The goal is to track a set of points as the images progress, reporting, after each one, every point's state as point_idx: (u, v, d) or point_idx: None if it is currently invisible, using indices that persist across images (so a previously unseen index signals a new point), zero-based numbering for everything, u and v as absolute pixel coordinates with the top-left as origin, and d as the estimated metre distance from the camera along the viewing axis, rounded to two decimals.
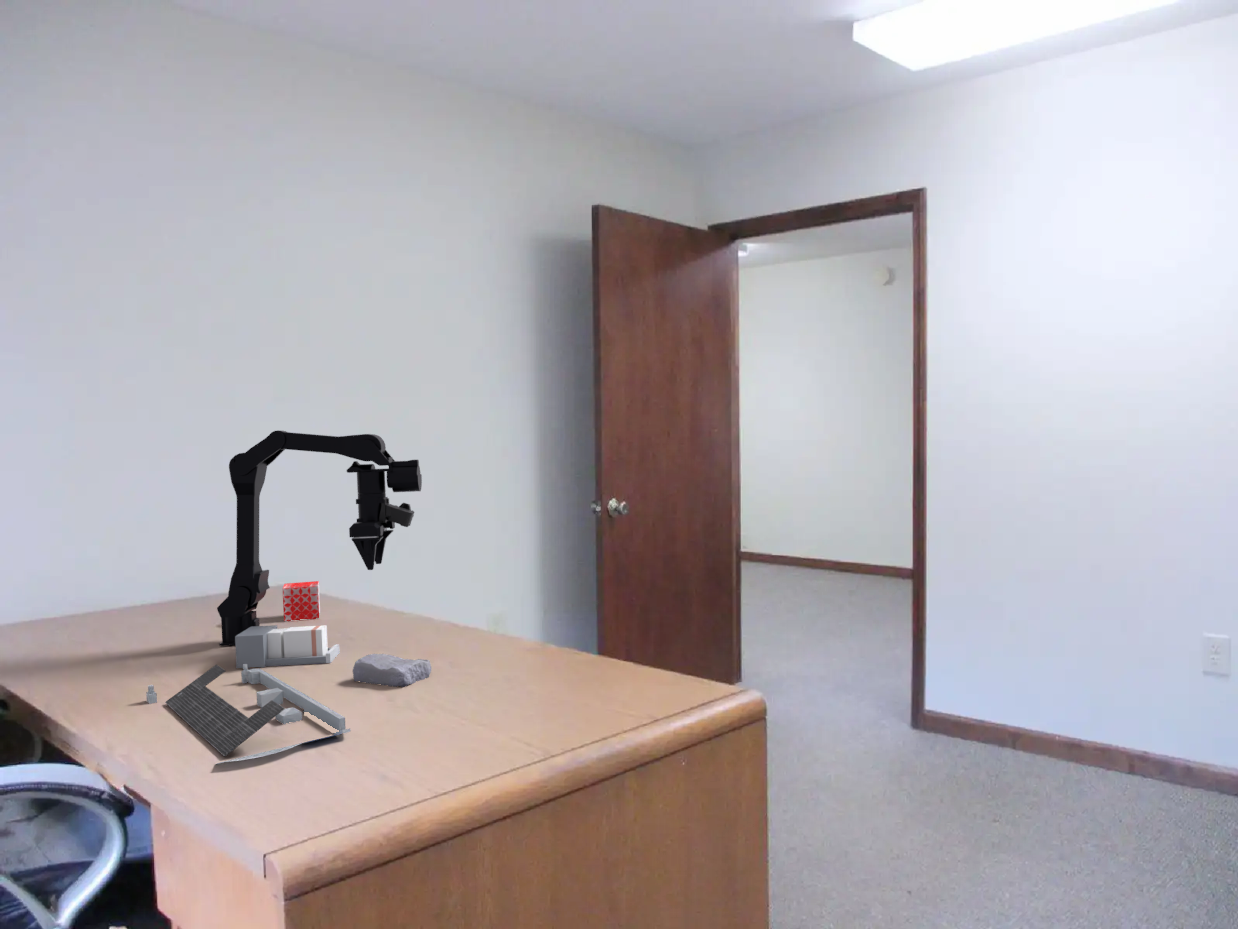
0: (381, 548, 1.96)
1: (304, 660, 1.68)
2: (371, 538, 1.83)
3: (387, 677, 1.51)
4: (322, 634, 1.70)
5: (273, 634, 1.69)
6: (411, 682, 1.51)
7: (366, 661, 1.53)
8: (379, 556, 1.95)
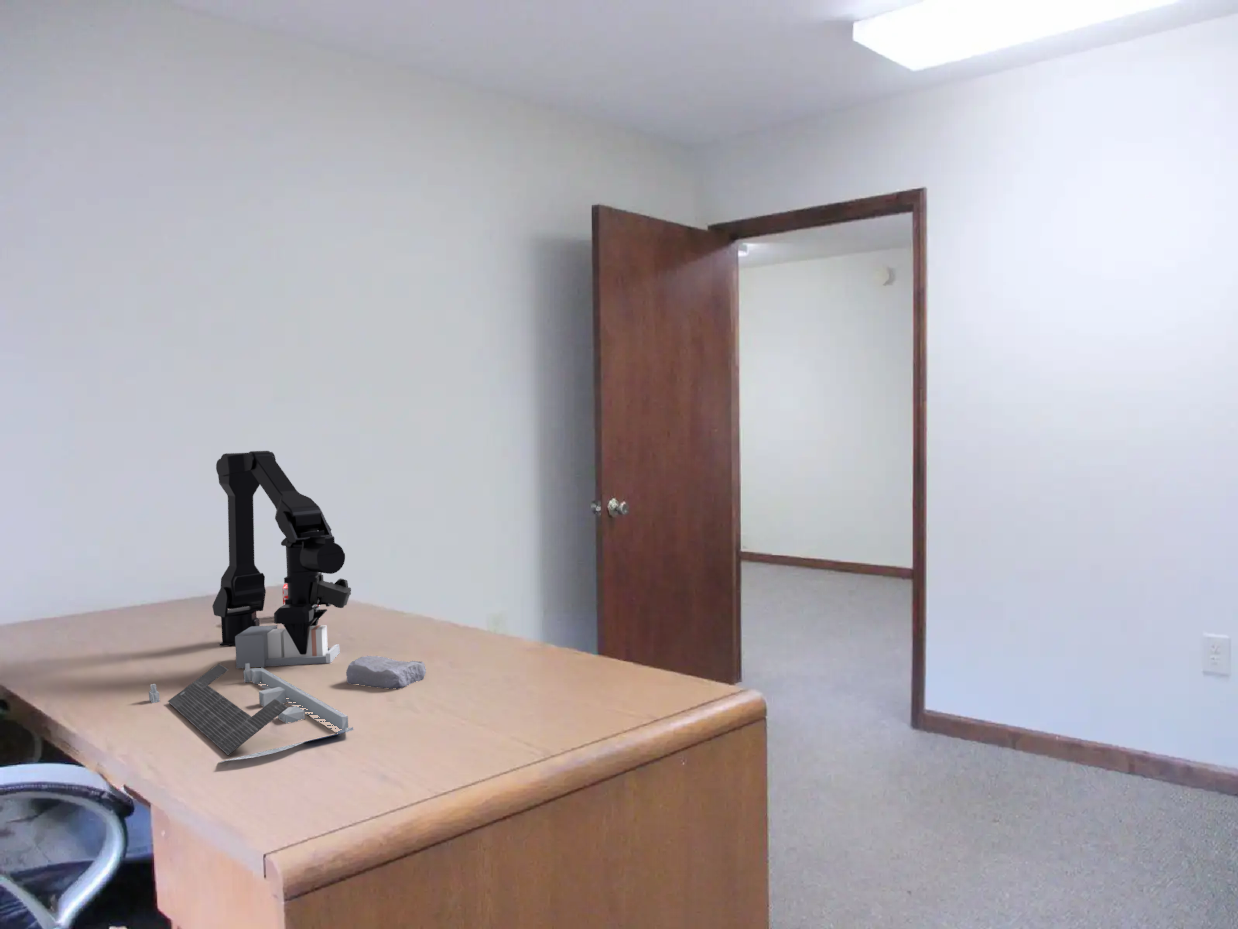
0: None
1: (304, 660, 1.68)
2: (302, 621, 1.66)
3: (381, 679, 1.49)
4: (322, 634, 1.70)
5: (273, 634, 1.69)
6: (406, 684, 1.50)
7: (360, 664, 1.52)
8: None
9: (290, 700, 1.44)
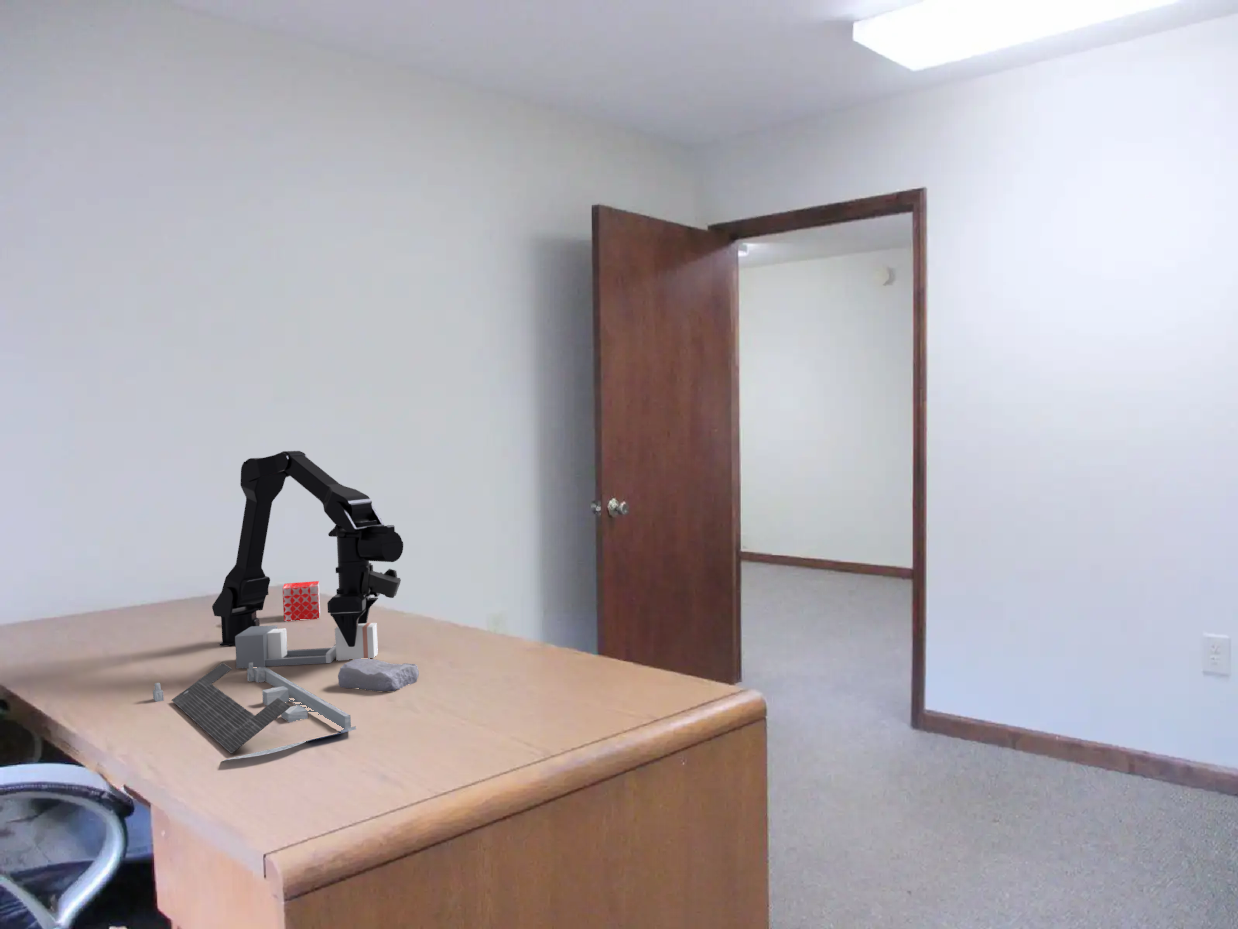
0: (364, 619, 1.77)
1: (304, 660, 1.68)
2: (352, 613, 1.64)
3: (374, 682, 1.48)
4: (373, 631, 1.71)
5: (273, 634, 1.69)
6: (399, 687, 1.48)
7: (352, 666, 1.50)
8: None
9: None
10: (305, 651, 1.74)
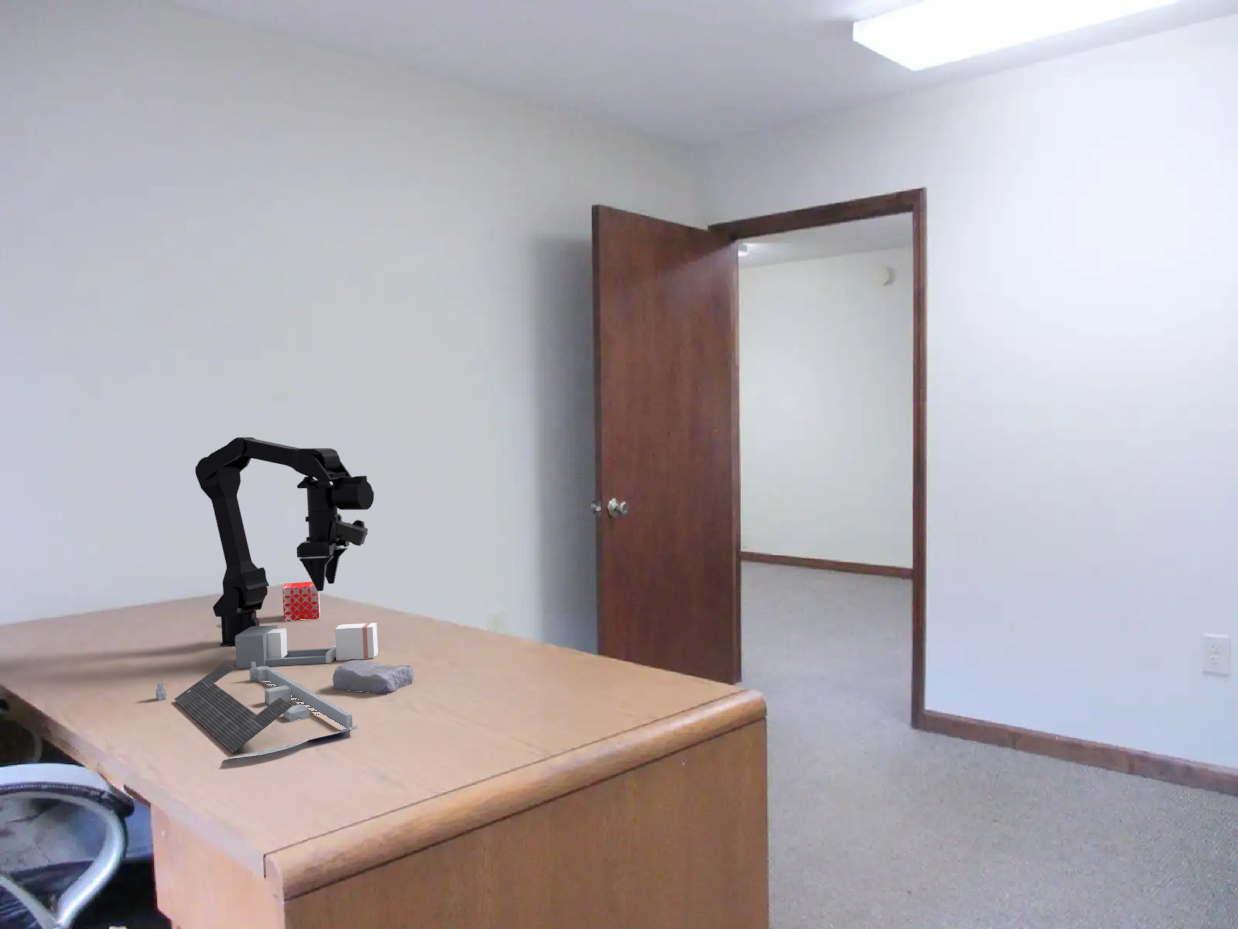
0: (334, 567, 1.87)
1: (304, 660, 1.68)
2: (320, 558, 1.74)
3: (369, 684, 1.46)
4: (373, 631, 1.71)
5: (273, 634, 1.69)
6: (394, 689, 1.47)
7: (347, 668, 1.49)
8: (331, 575, 1.87)
9: None
10: (305, 651, 1.74)
